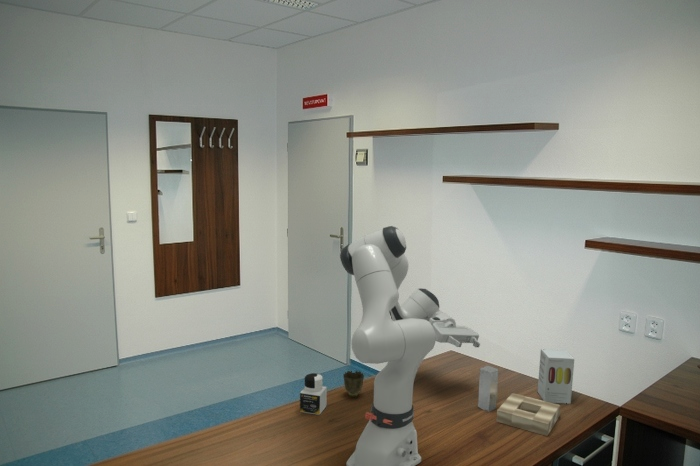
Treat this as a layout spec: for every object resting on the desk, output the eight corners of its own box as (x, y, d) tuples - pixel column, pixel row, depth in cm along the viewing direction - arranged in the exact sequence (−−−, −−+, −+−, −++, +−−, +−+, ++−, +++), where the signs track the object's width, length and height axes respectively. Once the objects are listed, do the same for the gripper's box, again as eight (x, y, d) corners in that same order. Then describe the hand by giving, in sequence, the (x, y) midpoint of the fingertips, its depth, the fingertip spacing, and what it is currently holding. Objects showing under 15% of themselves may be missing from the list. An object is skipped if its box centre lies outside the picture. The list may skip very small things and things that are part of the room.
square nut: (547, 436, 163) (548, 424, 162) (496, 421, 172) (497, 410, 171) (559, 416, 176) (560, 405, 175) (511, 403, 185) (512, 392, 184)
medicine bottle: (299, 412, 176) (299, 378, 175) (307, 403, 183) (307, 370, 181) (319, 415, 174) (319, 380, 173) (326, 406, 181) (327, 372, 179)
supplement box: (544, 402, 186) (547, 357, 184) (536, 391, 195) (539, 348, 193) (571, 404, 185) (575, 358, 183) (563, 392, 194) (566, 349, 192)
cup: (364, 391, 193) (364, 370, 192) (362, 400, 186) (363, 378, 185) (344, 390, 194) (344, 369, 193) (342, 399, 186) (342, 377, 185)
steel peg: (488, 411, 178) (490, 372, 177) (478, 407, 182) (479, 368, 180) (496, 408, 181) (498, 369, 180) (485, 403, 185) (487, 365, 183)
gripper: (460, 335, 202) (485, 353, 191) (421, 333, 190) (446, 353, 179) (465, 320, 201) (491, 338, 190) (426, 318, 189) (452, 336, 178)
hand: (469, 345), depth 184 cm, fingers open, 8 cm apart
